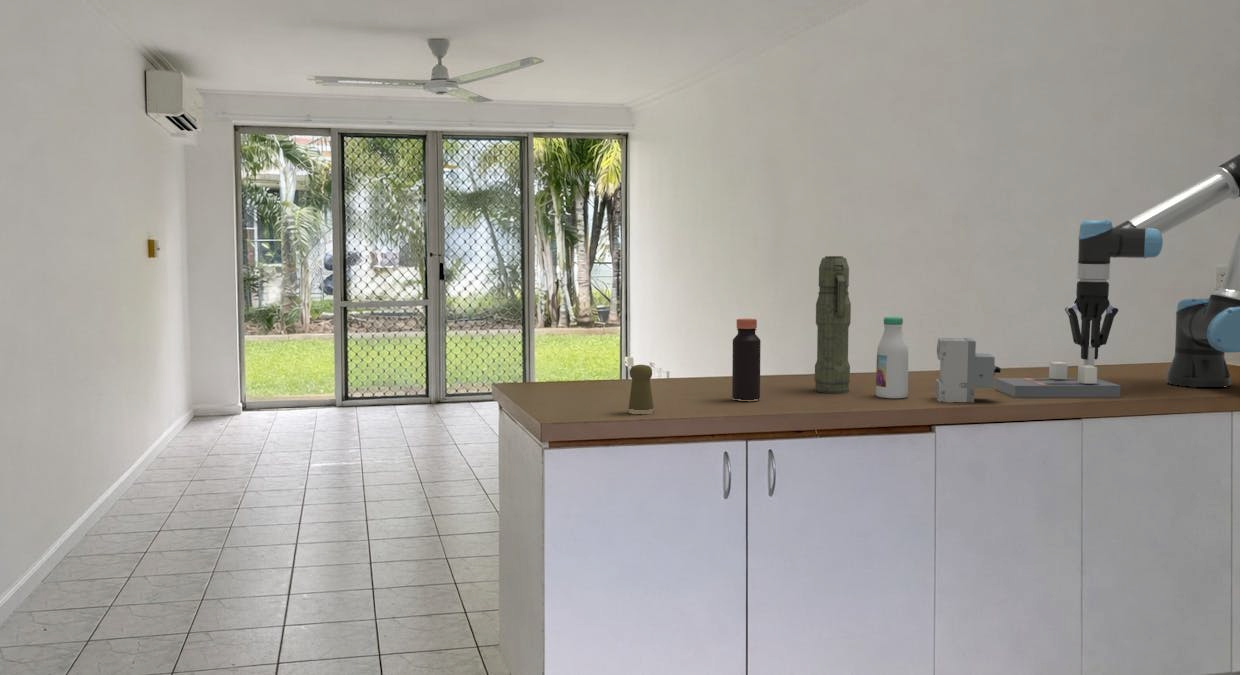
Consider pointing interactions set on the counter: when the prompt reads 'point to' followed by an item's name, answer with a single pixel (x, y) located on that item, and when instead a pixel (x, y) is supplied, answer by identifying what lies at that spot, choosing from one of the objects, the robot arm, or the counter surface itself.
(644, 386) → the olive green shaker
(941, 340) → the circuit breaker
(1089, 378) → the white block
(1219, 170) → the robot arm
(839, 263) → the thermos
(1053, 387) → the panel
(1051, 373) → the light grey block
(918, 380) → the counter surface
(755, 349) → the vinegar
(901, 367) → the milk bottle
